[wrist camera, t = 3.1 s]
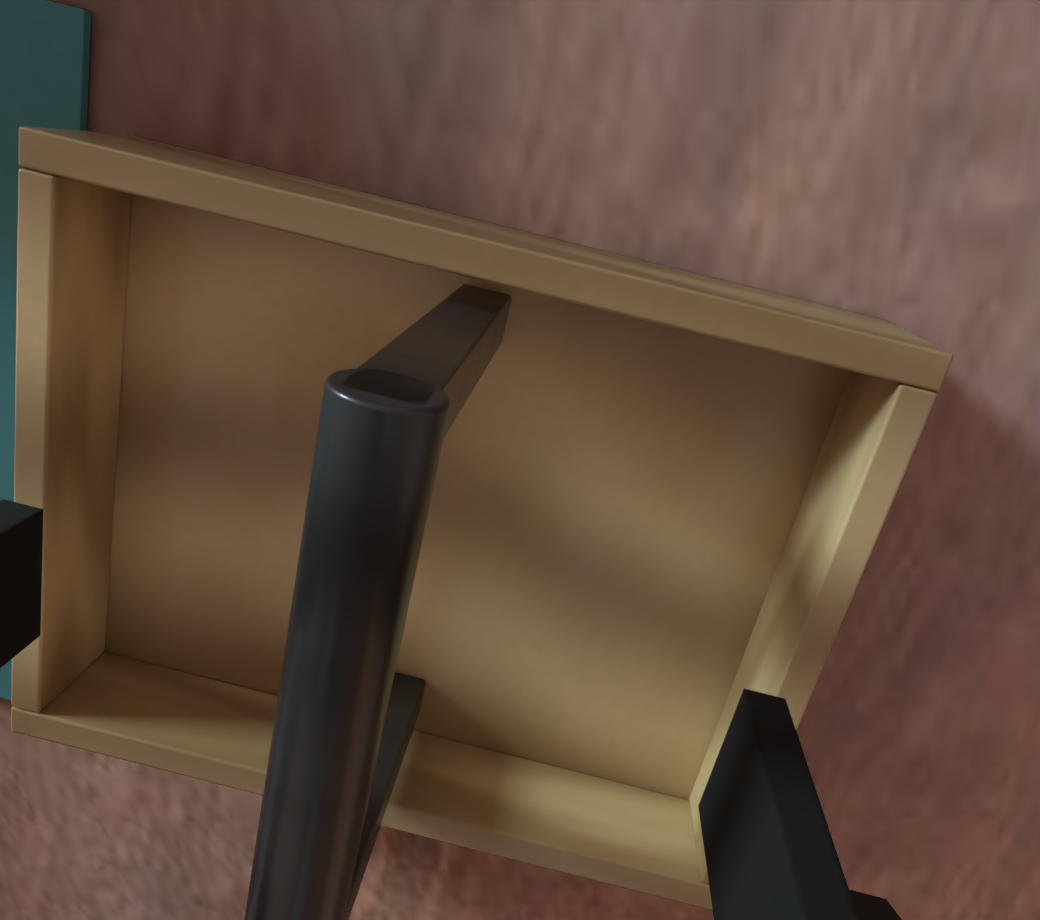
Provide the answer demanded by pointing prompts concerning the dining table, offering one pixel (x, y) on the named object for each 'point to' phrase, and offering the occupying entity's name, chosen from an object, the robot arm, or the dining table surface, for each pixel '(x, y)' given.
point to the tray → (535, 518)
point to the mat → (3, 109)
